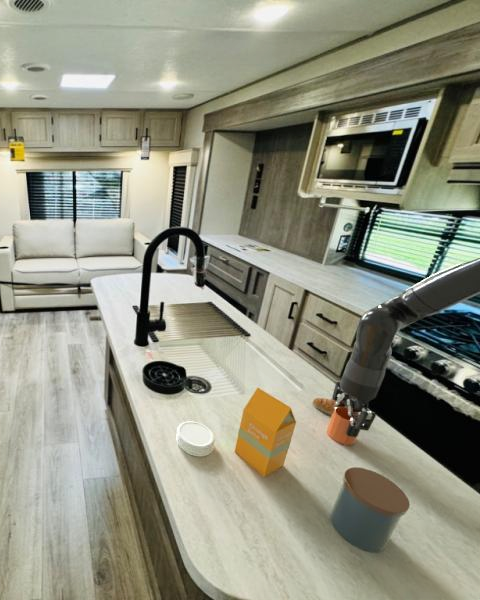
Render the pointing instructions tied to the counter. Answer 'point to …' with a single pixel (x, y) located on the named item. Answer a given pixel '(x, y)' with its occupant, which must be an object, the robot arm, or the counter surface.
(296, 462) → the counter surface
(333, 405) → the pastry
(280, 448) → the orange juice
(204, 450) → the white round tub
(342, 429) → the cup
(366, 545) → the jar
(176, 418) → the counter surface
